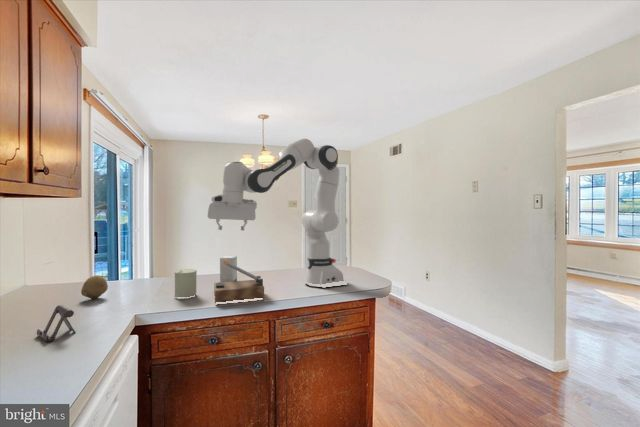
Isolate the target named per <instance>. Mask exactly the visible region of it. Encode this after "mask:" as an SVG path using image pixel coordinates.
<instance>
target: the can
mask: <svg viewBox="0 0 640 427" xmlns="http://www.w3.org/2000/svg"><path fill="white" fill-rule="evenodd" d="M197 271H198V270H197V269H194V268H182V269H177V270H175V271H174V297H190V296H194V295H196V293H197Z"/></svg>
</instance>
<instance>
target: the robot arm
mask: <svg viewBox="0 0 640 427" xmlns="http://www.w3.org/2000/svg"><path fill="white" fill-rule="evenodd" d="M338 161H339V154H338V151H337V149H336V148H335V147H334V146H332V145H328V144H326V145H325V144H324V145H320V146H317V147H316V146H315V145H314V143H313V142H312V141H311V140H310V139H308V138H302V139H298V140H296V141H294V142H292V143H290V144H288V145H287V146H285V147H284V148H282V150H281V151H280V152H279V153H278V160H277V161H275V162H274V163H272V164H270V166H268V167H267V168H259V169H258V168H257V169H256V170H252V169H251V168H249V167H247V166H246V165H245V164H244V163H243V161H242V162H241V161H232V162H228V163H227V164H225V166H224V169H223V170H224V171H223V176H222V182H223V189H222V194H218V195H214V196H212V197H211V202H210V203H209V205H208V210H207V218H208V219H209V220H215V223H216V224H217V226H218V230H219V231H222V230H223V225H221V224H220V221H221V220H229V221H230V220H233V221H243V223H244V224H242V226H240V231H245V226H246V225H247V224H248V221H255V220H256V209H257V207H258V206H257V205H258V203H257V201H256V200H254V199H247V198H244V192H247V193H252V194H254V193H259V194H263V193H267V192H268V191H270V190H271V188H272V187H273V185H274V183H275V182H276V181H277V180H278V179H279V178H280V177H282V176H283V175H285V174H286V173H287V172H288V171H292V170H294V169H296V168H298V167H300V166H301V165H302V164H303V165H305V167H307V168H308V169H311V170H317V169H318V180H317V182H316V187H315V192H314V195H313V197H314V200H315V204H316V208H315V209H310V210H307V211H305V212H304V213H303V215H302V216H301V224H302V226H303V227H304V229H305V233H306V236H307V242H308V243H307V245H308V248H307V251H308V253H307V254H308V256H307V258H306V259H307V262H306V266H307V271H306V272H307V273H306V278H305V282H308V283H312V284H320V285H321V284H326V283H332V282H339V281H344V280H345V279H344V274H343V272H342V271H341V270H340V269H339V268H338V267H336V266H335V265H334V264H335V263H336V262H337V260H336V258H332V257H330V242H329V240H328V238H327V234H326V233H328V232H332V231H333V232H334V230H336V229H337V227H338V225H339V217H338V215H337V213H336V207H335V206H336V204H335V202H336V197H337V191H338V186H339V181H340V168H338V167H337V166H338V163H339V162H338Z"/></svg>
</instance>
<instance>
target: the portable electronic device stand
mask: <svg viewBox="0 0 640 427" xmlns="http://www.w3.org/2000/svg"><path fill="white" fill-rule="evenodd" d="M57 314H59V316H60V319H59V320H58V322H57V324H56V327H55V329H54V331H53V333H52V335H49V334H48V332H49V331H50V330H49V329H50V328H51V326H52V324H53V321H54V320H55V317H56V315H57ZM74 314H75V312H74V310H72V309H70V308H68V307H67V306H64V305H63V304H59V305H57V306H56V307H55V308H54V311H53V312H52V315H51V317H50V318H49V320H48V322H47V324H46V326H45V327H44V328H45V329H43V331H42V330H40V329H39V328H38V329H36V335H37V336H38V337H39V338H41V339H42V341H45V342H46V343H48V344H50V343H53V342H54V340H55V339H56V337H57V334H58V332H59V330H60V328H61V326H62V324H63V322H64V324H65V326H66V327H67V329H68V330H69V331H70V332H72V333H73V334H76V331H75V329H74V328H73V326H72V325H71V322H70V321H69V319H68V318H71V317H73V316H74Z"/></svg>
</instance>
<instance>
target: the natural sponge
mask: <svg viewBox="0 0 640 427" xmlns="http://www.w3.org/2000/svg"><path fill="white" fill-rule="evenodd" d="M108 287H109V286H108V282H107V280H106V278H104V277H103V276H101V275H93V276H92V275H91V276H90V277H89V278H87V279H86V280H85V281H84V283H83V285H82V287H81V290H80V293H81V296H83V297H85V298H88V299H92V300H96V299H98V298H100V297H101V296H102V295H104V294H105V293H106V292H107V290H108Z"/></svg>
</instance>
